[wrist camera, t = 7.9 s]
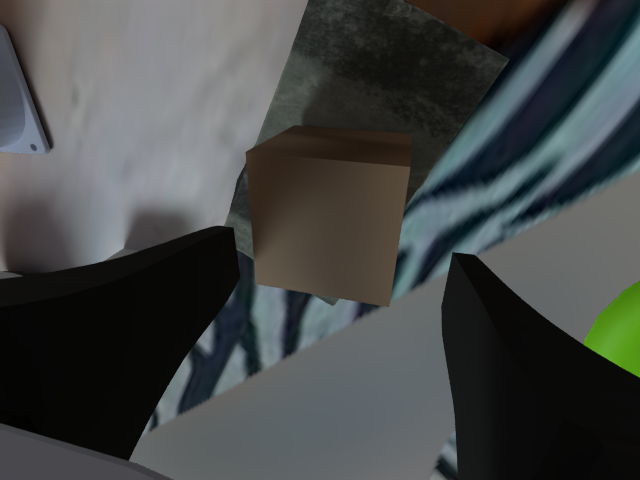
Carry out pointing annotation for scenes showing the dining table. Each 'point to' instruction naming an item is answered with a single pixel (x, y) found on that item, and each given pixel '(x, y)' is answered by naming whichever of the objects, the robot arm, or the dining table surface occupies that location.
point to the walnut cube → (329, 210)
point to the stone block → (375, 84)
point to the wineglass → (619, 331)
